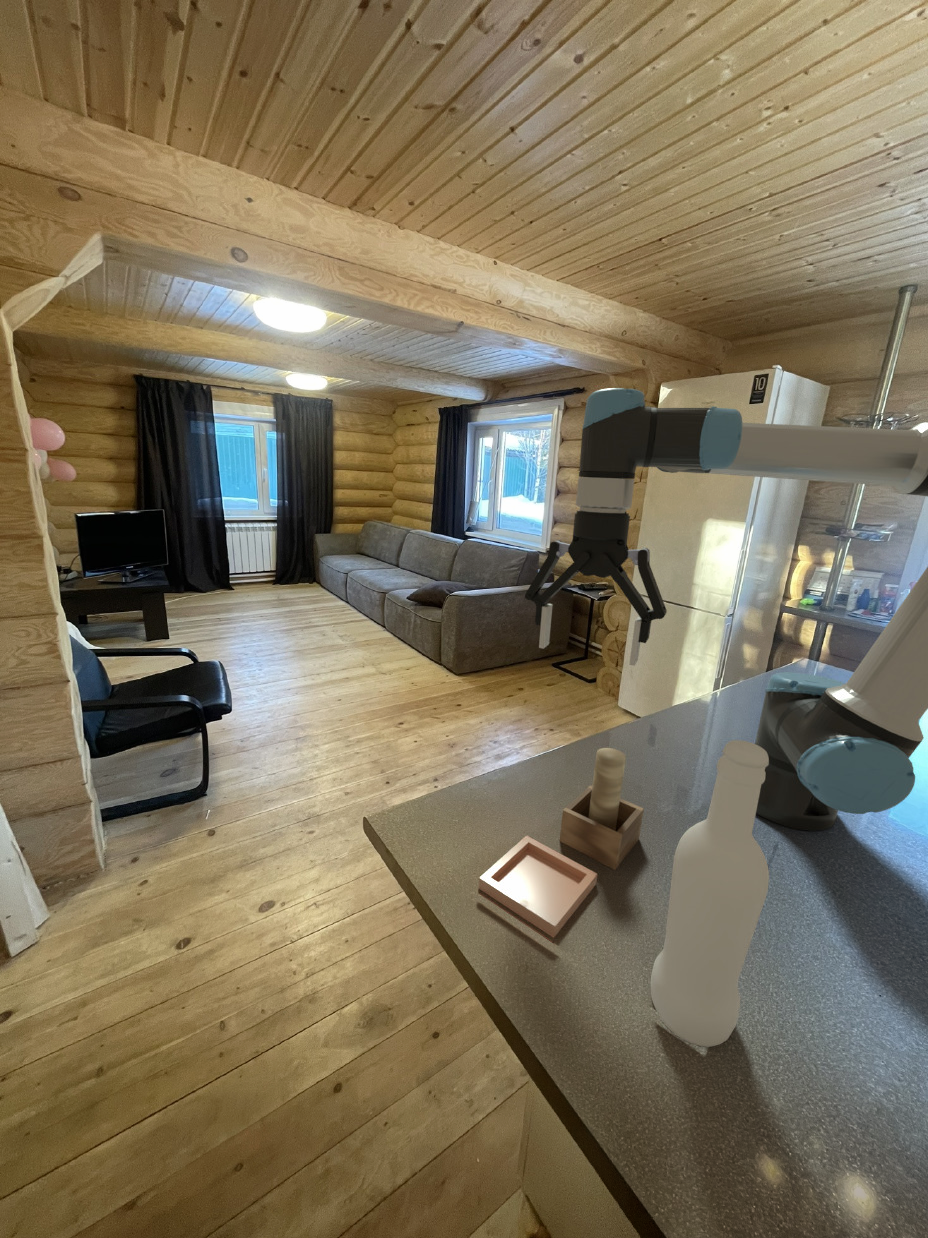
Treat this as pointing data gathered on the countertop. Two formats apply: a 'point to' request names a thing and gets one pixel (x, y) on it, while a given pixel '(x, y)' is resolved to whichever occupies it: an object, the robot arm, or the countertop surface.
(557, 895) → the tray
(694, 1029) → the bottle
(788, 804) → the robot arm
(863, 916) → the countertop surface
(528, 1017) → the countertop surface
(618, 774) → the dowel
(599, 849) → the small wooden box
